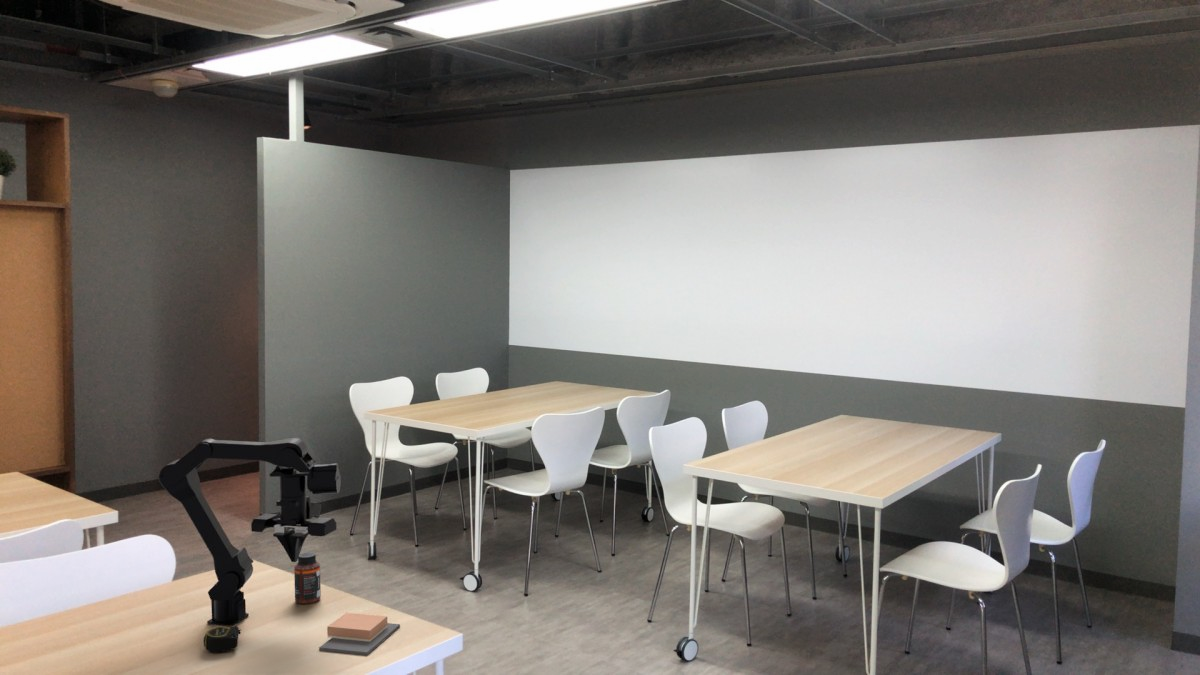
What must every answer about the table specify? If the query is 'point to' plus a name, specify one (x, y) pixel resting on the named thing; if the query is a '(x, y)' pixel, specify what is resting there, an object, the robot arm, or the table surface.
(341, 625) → the tile
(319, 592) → the supplement bottle
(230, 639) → the tape measure
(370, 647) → the mat
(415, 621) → the table surface
